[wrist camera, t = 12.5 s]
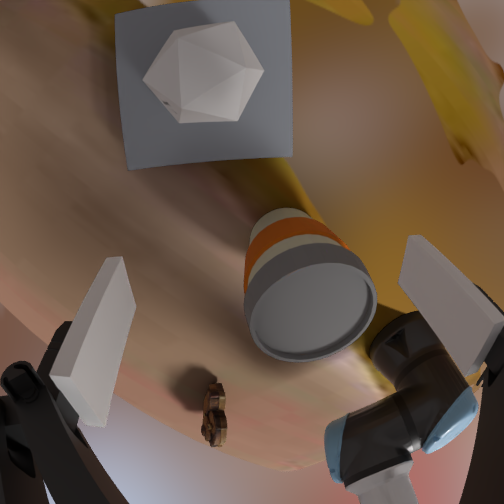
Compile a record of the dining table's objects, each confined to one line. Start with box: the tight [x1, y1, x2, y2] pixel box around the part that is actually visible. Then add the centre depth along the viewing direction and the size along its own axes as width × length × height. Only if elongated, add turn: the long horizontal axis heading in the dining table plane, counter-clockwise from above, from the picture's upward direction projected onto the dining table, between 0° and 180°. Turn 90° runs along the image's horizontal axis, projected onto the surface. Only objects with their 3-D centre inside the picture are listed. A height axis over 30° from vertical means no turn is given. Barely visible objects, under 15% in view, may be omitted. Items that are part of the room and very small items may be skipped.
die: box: [143, 21, 264, 123], centre depth 21 cm, size 8×9×10 cm
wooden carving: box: [201, 383, 227, 447], centre depth 52 cm, size 16×5×10 cm, turn 174°
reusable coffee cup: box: [244, 208, 377, 362], centre depth 33 cm, size 13×13×15 cm
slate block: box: [115, 0, 293, 171], centre depth 27 cm, size 16×16×6 cm
